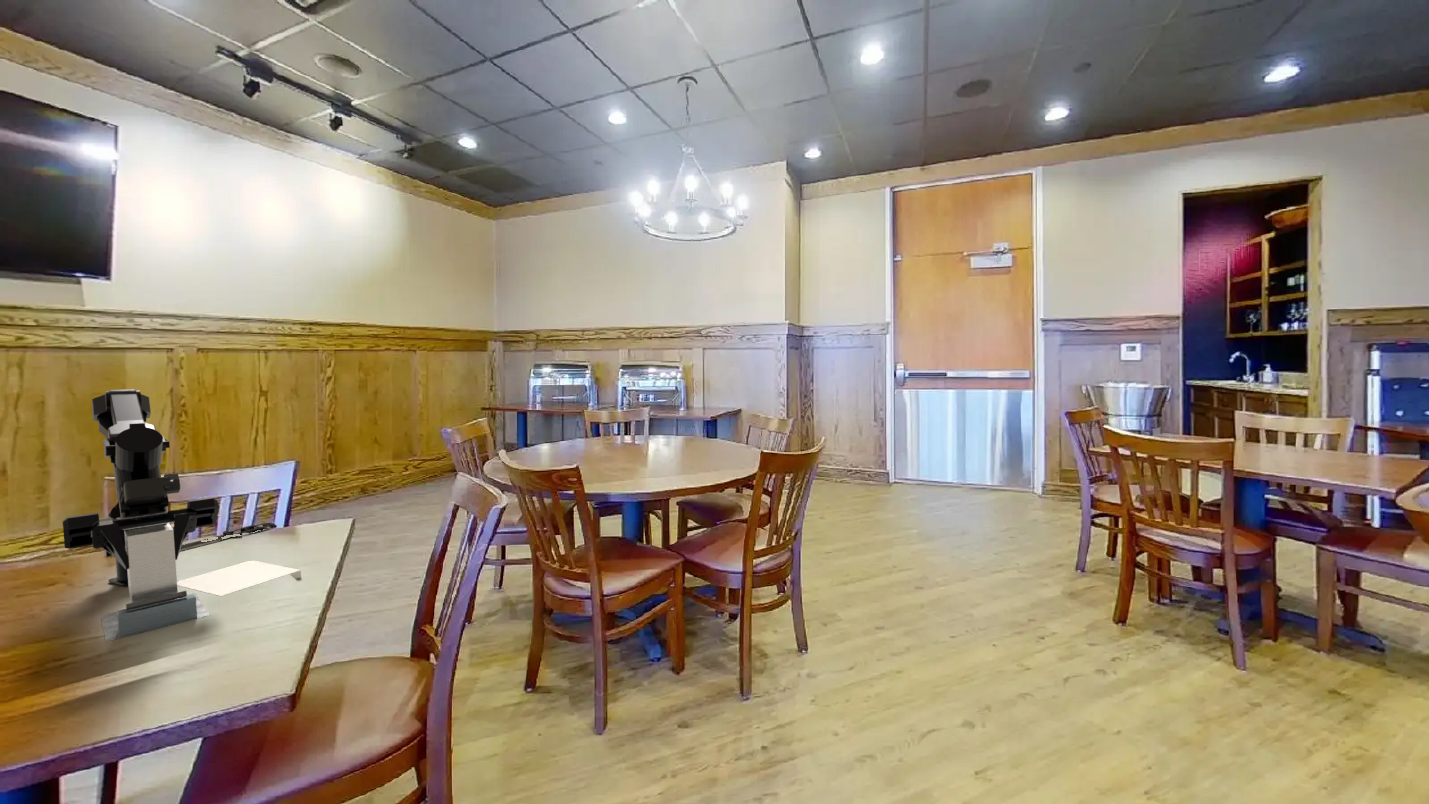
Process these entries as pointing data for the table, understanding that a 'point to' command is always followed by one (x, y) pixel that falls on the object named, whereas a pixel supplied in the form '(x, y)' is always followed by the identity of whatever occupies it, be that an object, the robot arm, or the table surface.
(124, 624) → the grey piece
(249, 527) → the knife
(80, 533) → the robot arm
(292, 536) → the table surface
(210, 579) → the cutting board
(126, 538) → the square hollow tube
